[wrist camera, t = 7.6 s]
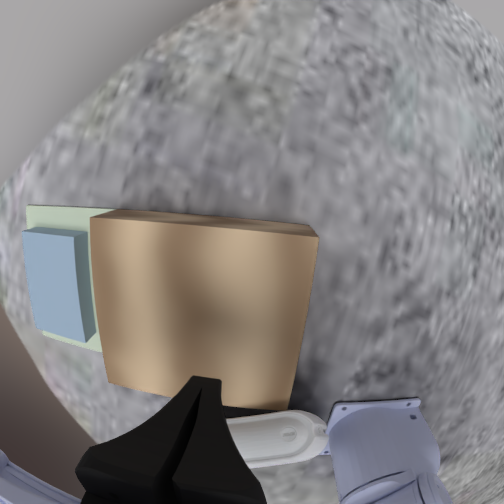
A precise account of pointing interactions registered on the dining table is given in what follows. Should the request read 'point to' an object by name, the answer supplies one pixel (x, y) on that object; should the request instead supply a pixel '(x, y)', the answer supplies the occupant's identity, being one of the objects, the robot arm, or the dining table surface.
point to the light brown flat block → (202, 302)
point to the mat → (69, 221)
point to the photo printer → (278, 437)
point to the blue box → (59, 281)
